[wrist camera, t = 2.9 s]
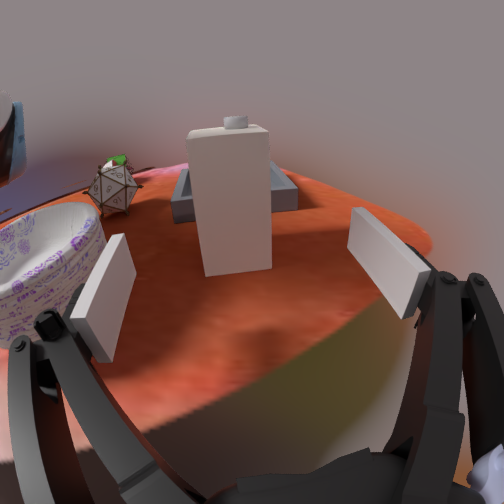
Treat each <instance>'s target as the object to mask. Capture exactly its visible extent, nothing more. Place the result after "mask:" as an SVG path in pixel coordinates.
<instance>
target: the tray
mask: <svg viewBox="0 0 504 504" xmlns="http://www.w3.org/2000/svg"><path fill="white" fill-rule="evenodd" d="M270 180H271V212H280V211H291V210H298V188H297V186H296V185H295V184H294V183H293V182H292V181H291V180H290V179H289V178H288V177H287V176H286V175H285V174H284V173H283V172H282V171H281V170H280V169H279V167H278V166H277V165H276V164H275V163H274V162H273V161H270ZM170 202H171V208H172V213H173V219H174V223H182V222H190V221H196V217H195V210H194V203H193V196H192V189H191V182H190V174H189V169H182V170H181V173H180V176H179V179H178V181H177V184H176V187H175V190H174V193H173V196H172V199H171V201H170Z"/></svg>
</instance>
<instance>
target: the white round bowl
mask: <svg viewBox="0 0 504 504" xmlns="http://www.w3.org/2000/svg"><path fill="white" fill-rule="evenodd" d="M106 245H107V242H106V239H105V235H104V231H103V228H102V225H101V222H100V220H99V214H98V212H97V210H96V209H95V208H94V207H93V206H92V205H90V204H87V203H83V202H67V203H61V204H56V205H52V206H49V207H45V208H42V209H40V210H37V211H35V212H32V213H30V214H27V215H25V216H23V217H21V218H19V219H17V220H16V221H14V222H12V223H10V224H9V225H7V226H6V227H4V228H3V229H1V230H0V348H3V349H8V350H9V348H10V345H11V343H12V342H13V340H14V339H15V338H16V337H18V336H20V335H27V336H28V337H29V338H30V339H31V341H32V342H34V341H37V340H40V339H41V337H40V336H39V335H38V333H37V332H36V330H35V329H34V327H33V323H34V320H35V318H36V317H37V316H38V315H39V314H40V313H41V312H42V311H44V310H46V309H50V308H53V309H56V310H57V311H58V312H59V314H60V316H61V317H62V315H63V313H64V311H65V309H66V307H67V305H68V303H69V301H70V299H71V297H72V295H73V293H74V291H75V290H76V289H77V288H78V287H79V285H80V284H82V283H86V282H87V280H88V278H89V276H90V274H91V272H92V270H93V269H94V267H95V265H96V263H97V261H98V259H99V257H100V256H101V254H102V252H103V250H104V248H105V247H106Z"/></svg>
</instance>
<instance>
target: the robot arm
mask: <svg viewBox="0 0 504 504" xmlns="http://www.w3.org/2000/svg"><path fill="white" fill-rule="evenodd" d="M26 166H27V159H26V146H25V138H24V118H23V106H22V103H21V102H13V103H12V100H11V97H10V95H9V94H8V93H7V92H5V91H2V90H0V188H1V187H3V186H5V185H8V184H9V183H10V182H11V181H13V180H15V179H16V178H18V177H20V176H22V175H23V174H24V172H25V170H26ZM347 248H348V249H349V251H350V252H351V253H352V254H353V256H354V257H355V258H356V260H357V261H358V262H359V263H360V265H361V266H362V267H363V268H364V270H365V271H366V272H367V274H368V275H369V276H370V278H371V279H372V280H373V281H374V283H375V284H376V285H377V287H378V288H379V289H380V291H381V292H382V293H383V295H384V296H385V298H386V299H387V300H388V302H389V303H390V304H391V306H392V307H393V309H394V310H395V311H396V313H397V314H398V316H399V317H400V319H406V318H409V317H412V316H413V315H414V313H415V311H416V308H417V307H418V308H419V309H420V310H421V313H420V315H419V318H418V320H417V322H416V324H415V326H414V328H415V329H416V327H417V333H416V340H415V346H414V351H413V356H412V362H411V366H410V371H409V376H408V380H407V384H406V388H405V393H404V396H403V400H402V404H401V407H400V411H399V414H398V417H397V421H396V424H395V427H394V430H393V433H392V435H391V437H390V439H389V441H388V442H387V444H386V446H385V447H384V449H383V451H382V452H370V449H369V448H365V449H363V450H360V451H357V452H354V453H351V454H348V455H345V456H342V457H339V458H337V459H336V460H334V461H332V462H330V463H329V464H327V465H325V466H323V467H321V468H319V469H317V470H315V471H313V472H311V473H309V474H266V475H259V476H252V477H243V478H236V481H237V483H235V484H232V485H230V486H227V487H225V488H223V489H221V490H220V491H218V492H216V493H215V494H213V495H212V496H211V497H210V498H209V499H207V498H205V497H204V496H203V495H202V494H201V493H199V492H198V491H197V490H196V489H195V488H194V487H193V486H191V485H190V484H189V483H188V482H186V481H185V480H184V479H183V478H182V477H181V476H180V475H179V474H178V473H177V472H176V471H174V469H173V468H172V467H171V466H170V465H169V464H168V463H167V462H166V461H165V460H164V459H163V458H162V457H161V456H160V455H159V453H158V452H157V451H156V450H155V449H154V448H153V447H152V446H151V444H150V443H149V442H148V441H147V440H146V439H145V437H144V436H143V435H142V434H141V433H140V431H139V430H138V429H137V428H136V426H135V425H134V424H133V423H132V421H131V420H130V419H129V418H128V416H127V415H126V414H125V412H124V411H123V410H122V408H121V407H120V405H119V404H118V403H117V401H116V400H115V398H114V397H113V395H112V394H111V393H110V391H109V390H108V388H107V387H106V385H105V384H104V382H103V380H102V379H101V377H100V376H99V374H98V373H97V371H96V369H95V368H94V366H93V365H92V363H91V362H90V361H91V357H92V355H93V356H94V358H95V359H96V361H97V362H98V363H113V358H114V354H115V349H116V345H117V341H118V337H119V333H120V329H121V325H122V321H123V318H124V314H125V310H126V307H127V303H128V300H129V296H130V293H131V290H132V287H133V283H134V280H135V277H136V274H137V273H136V270H135V267H134V264H133V261H132V257H131V254H130V251H129V248H128V244H127V241H126V238H125V234H124V233H122V234H115V235H112V236H111V238H110V240H109V241H108V243H107V245H106V247H105V248H104V250H103V252H102V254H101V256H100V257H99V259H98V261H97V263H96V265H95V267H94V269H93V270H92V272H91V274H90V276H89V278H88V280H87V282H86V283H82V284H80V285H79V287H78V288H77V289H76V290H75V291H74V293H73V295H72V297H71V299H70V301H69V303H68V305H67V307H66V309H65V311H64V313H63V315H62V317H61V316H60V314H59V312H58V311H57V310H56V309H53V308H50V309H46V310H44V311H42V312H41V313H40V314H39V315H38V316H37V317H36V318H35V320H34V323H33V327H34V329H35V330H36V332H37V333H38V335H39V336H40V337H41V339H40V340H37V341H34V342H32V341H31V339H30V338H29V337H28V336H27V335H20V336H18V337H16V338H15V339H14V340H13V342H12V343H11V345H10V348H9V359H8V413H9V426H10V435H11V443H12V450H13V456H14V462H15V467H16V472H17V476H18V481H19V485H20V489H21V492H22V496H23V500H24V503H25V504H95V503H94V500H93V498H92V496H91V493H90V491H89V488H88V486H87V483H86V481H85V478H84V475H83V473H82V470H81V467H80V464H79V461H78V458H77V455H76V451H75V448H74V445H73V441H72V437H71V434H70V430H69V426H68V422H67V417H66V413H65V408H64V403H63V398H62V392H61V388H62V390H63V393H64V395H65V397H66V399H67V401H68V403H69V405H70V407H71V409H72V411H73V413H74V415H75V417H76V419H77V421H78V422H79V424H80V426H81V428H82V430H83V431H84V433H85V435H86V437H87V438H88V440H89V442H90V443H91V445H92V446H93V448H94V450H95V451H96V453H97V454H98V456H99V457H100V459H101V460H102V462H103V463H104V465H105V466H106V468H107V469H108V470H109V472H110V473H111V475H112V476H113V477H114V479H115V480H116V481H117V483H118V485H119V492H120V495H121V496H122V498H123V499H124V500H125V502H126V503H127V504H501V503H503V502H504V314H503V311H502V309H501V307H500V305H499V302H498V300H497V298H496V296H495V294H494V292H493V290H492V288H491V286H490V284H489V282H488V281H487V279H486V278H485V277H484V276H483V275H481V274H478V273H471V274H470V275H469V277H468V279H467V281H458V279H457V278H456V277H455V276H454V275H452V274H451V273H448V272H445V271H440V272H438V271H437V270H436V269H435V268H434V267H433V266H432V265H431V264H430V263H429V262H428V261H427V260H426V259H425V258H424V257H423V256H422V255H421V254H419V252H418V251H417V250H416V249H415V248H414V247H412V246H410V245H408V244H407V243H403V242H402V241H401V240H400V239H399V238H398V237H397V236H396V235H395V234H394V233H392V232H391V231H390V230H389V229H388V228H387V227H386V226H385V225H384V224H382V223H381V222H380V221H379V220H378V219H377V218H375V217H374V216H373V215H372V214H371V213H370V212H368V211H367V210H366V209H365V208H364V207H356V208H352V214H351V222H350V230H349V238H348V245H347ZM475 314H476V319H474V315H475ZM462 371H463V377H464V383H465V390H466V397H467V405H468V416H469V430H470V447H471V455H472V462H473V466H474V467H473V469H472V471H470V472H469V473H468V475H467V479H466V480H467V483H468V484H470V485H471V488H467V487H465V486H462V485H460V484H457V483H455V482H453V477H454V474H455V470H456V465H457V461H458V457H459V452H460V448H461V443H462V438H463V431H464V425H465V416H464V414H462V413H459V411H458V409H459V400H460V390H461V378H462Z"/></svg>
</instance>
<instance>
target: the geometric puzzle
mask: <svg viewBox="0 0 504 504" xmlns="http://www.w3.org/2000/svg"><path fill="white" fill-rule="evenodd" d="M124 161H125V154H122V155H118V156H115V157H110V158H107V164H106V165H104V167H103V168H106V167H112V166H117V165H122V164H123V162H124ZM125 166H126V164H125ZM126 168H127V169H128V170H131V169H133V168H132V167H130V166H129V167H128V166H127V167H126ZM130 173H131V172H130ZM132 173H133V172H132Z"/></svg>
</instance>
